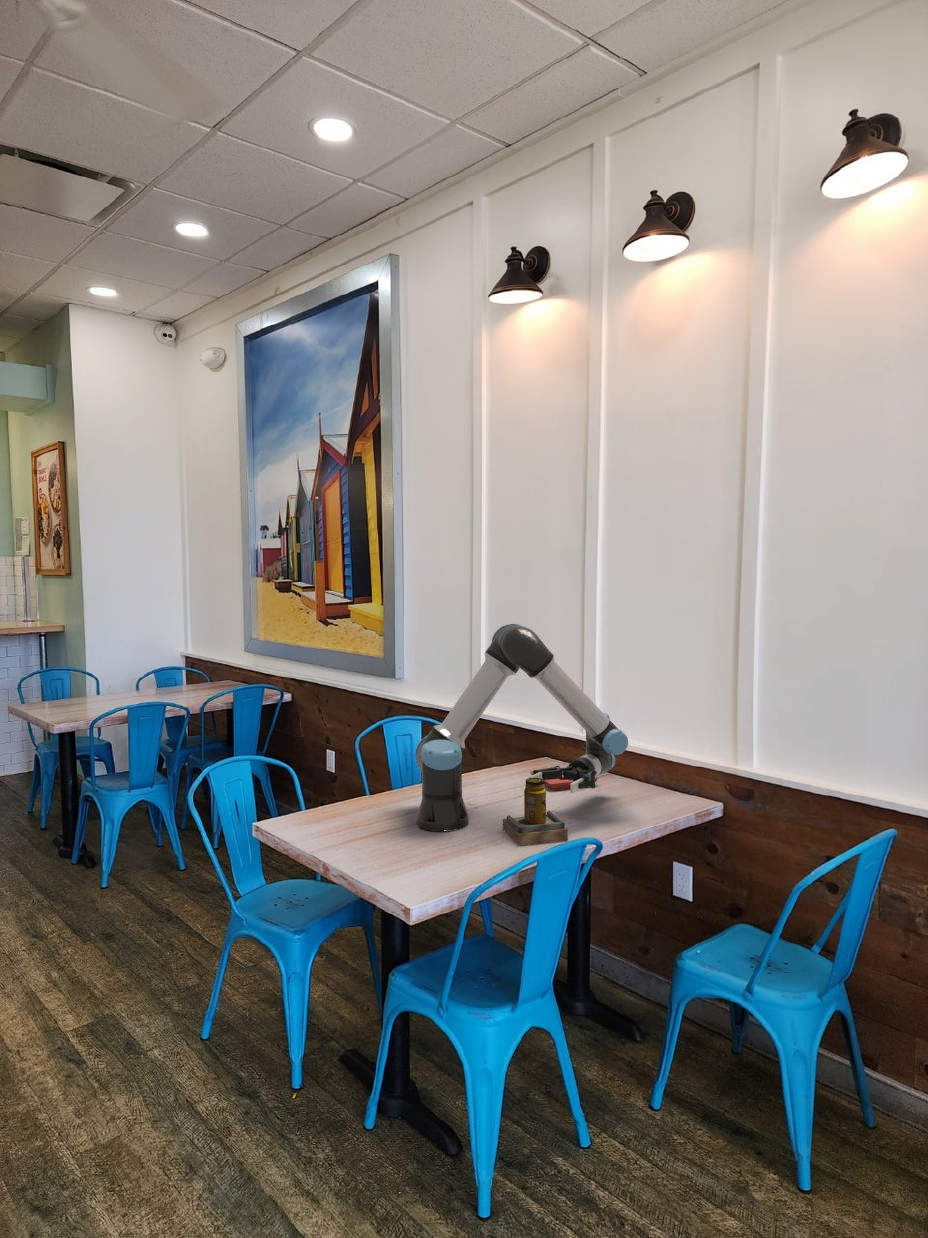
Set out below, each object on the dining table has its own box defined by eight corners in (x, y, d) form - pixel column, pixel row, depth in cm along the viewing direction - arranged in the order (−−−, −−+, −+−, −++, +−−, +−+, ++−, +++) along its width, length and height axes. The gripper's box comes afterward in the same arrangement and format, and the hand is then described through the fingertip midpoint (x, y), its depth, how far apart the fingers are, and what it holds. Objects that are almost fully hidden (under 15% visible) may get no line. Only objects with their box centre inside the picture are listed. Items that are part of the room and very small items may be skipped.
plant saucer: (529, 780, 281) (529, 770, 281) (575, 775, 287) (575, 765, 287) (551, 793, 264) (550, 783, 264) (599, 787, 270) (599, 778, 270)
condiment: (552, 822, 223) (552, 779, 222) (531, 829, 218) (530, 785, 217) (534, 816, 229) (533, 775, 228) (512, 823, 223) (512, 780, 222)
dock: (518, 845, 214) (518, 829, 214) (502, 829, 228) (502, 813, 227) (567, 840, 218) (567, 823, 218) (549, 824, 231) (548, 809, 231)
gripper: (621, 786, 240) (590, 804, 222) (548, 775, 254) (513, 791, 237) (621, 762, 239) (589, 778, 222) (548, 752, 254) (513, 766, 236)
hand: (550, 785), depth 229 cm, fingers open, 13 cm apart
